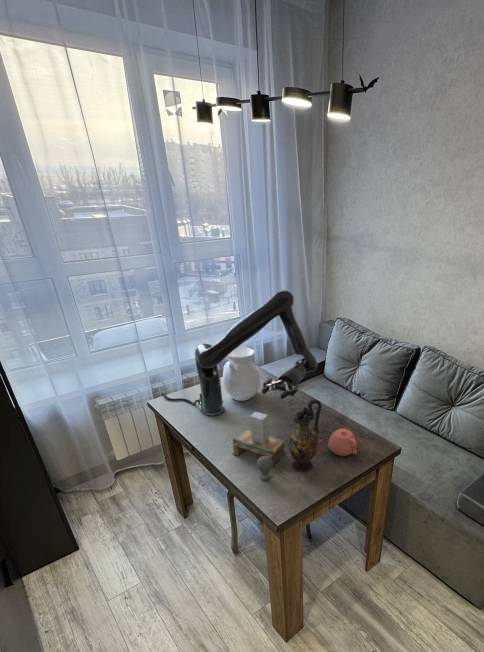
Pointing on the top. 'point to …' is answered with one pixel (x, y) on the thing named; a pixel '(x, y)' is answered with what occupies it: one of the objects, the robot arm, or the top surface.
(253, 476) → the top surface
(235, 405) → the top surface
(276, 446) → the wooden step stool
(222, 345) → the robot arm
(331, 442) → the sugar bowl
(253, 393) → the pitcher
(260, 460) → the light bulb
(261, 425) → the cosmetic box
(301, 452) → the vase
